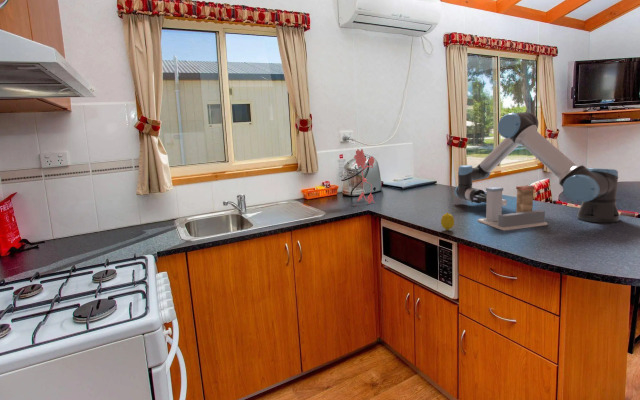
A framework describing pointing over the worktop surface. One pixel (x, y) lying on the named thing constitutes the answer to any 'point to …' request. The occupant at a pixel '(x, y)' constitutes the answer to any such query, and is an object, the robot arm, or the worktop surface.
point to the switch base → (517, 220)
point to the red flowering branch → (361, 162)
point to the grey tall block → (494, 203)
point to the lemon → (447, 221)
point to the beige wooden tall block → (524, 198)
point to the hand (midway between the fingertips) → (505, 202)
